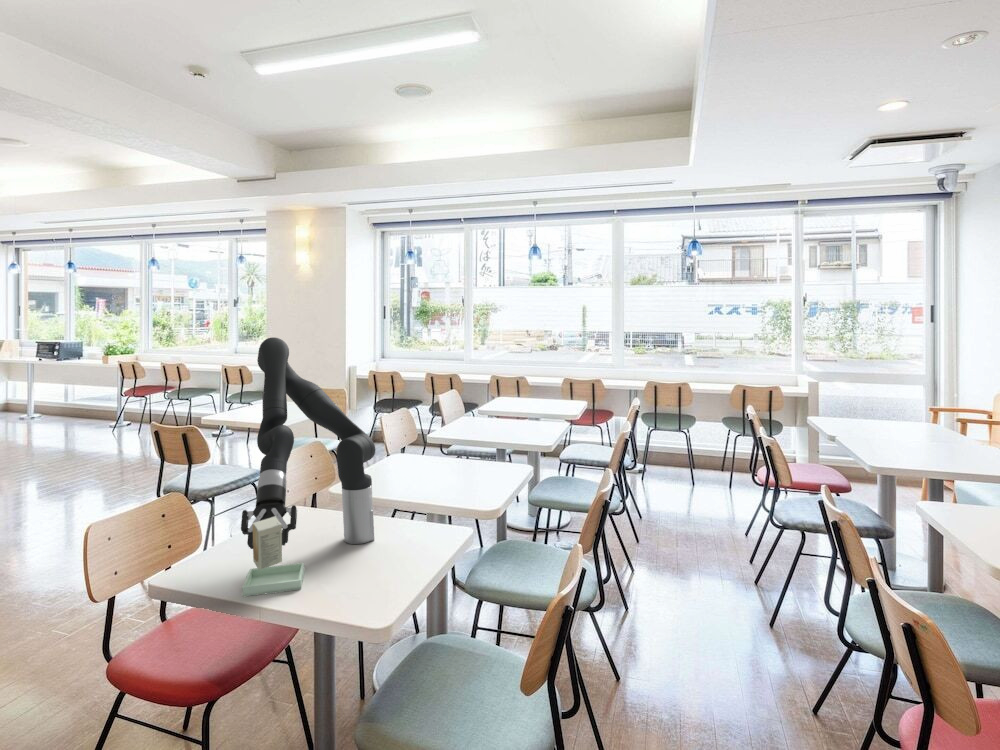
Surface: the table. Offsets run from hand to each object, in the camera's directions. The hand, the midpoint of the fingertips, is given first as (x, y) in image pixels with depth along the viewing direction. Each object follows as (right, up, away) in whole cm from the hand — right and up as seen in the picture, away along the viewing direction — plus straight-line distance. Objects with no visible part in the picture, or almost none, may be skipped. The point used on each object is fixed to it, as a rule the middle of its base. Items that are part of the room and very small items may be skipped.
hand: (267, 546), depth 149 cm
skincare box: (-1, -5, +2) cm, 5 cm away
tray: (+1, -11, +3) cm, 11 cm away
